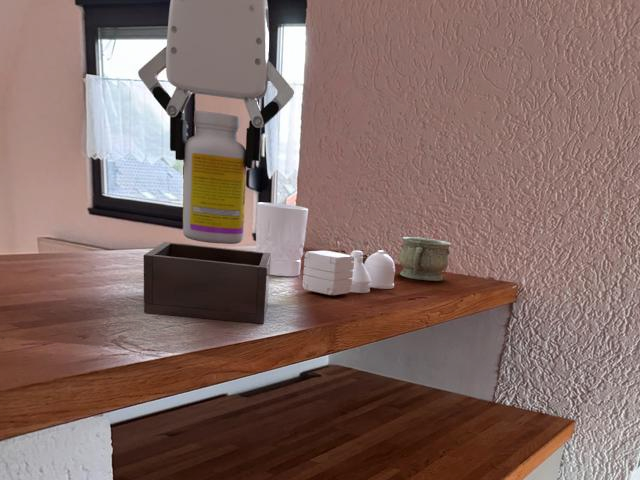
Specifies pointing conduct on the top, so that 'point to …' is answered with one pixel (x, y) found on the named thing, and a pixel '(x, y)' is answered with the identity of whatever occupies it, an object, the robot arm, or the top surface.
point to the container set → (347, 272)
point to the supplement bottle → (214, 180)
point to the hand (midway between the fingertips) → (215, 162)
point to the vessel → (424, 258)
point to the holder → (207, 282)
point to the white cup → (281, 236)
